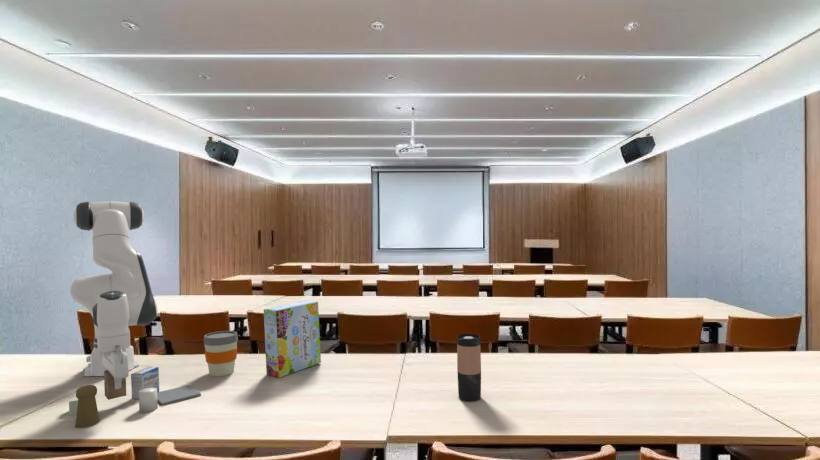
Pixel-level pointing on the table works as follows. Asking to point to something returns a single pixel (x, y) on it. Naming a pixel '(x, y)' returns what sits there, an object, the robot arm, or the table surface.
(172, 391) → the slate mat
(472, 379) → the travel mug
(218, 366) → the reusable coffee cup
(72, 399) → the sage green block
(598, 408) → the table surface
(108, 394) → the walnut block
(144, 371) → the medicine box
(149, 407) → the white smooth pebble
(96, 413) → the cork
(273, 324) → the snack box
